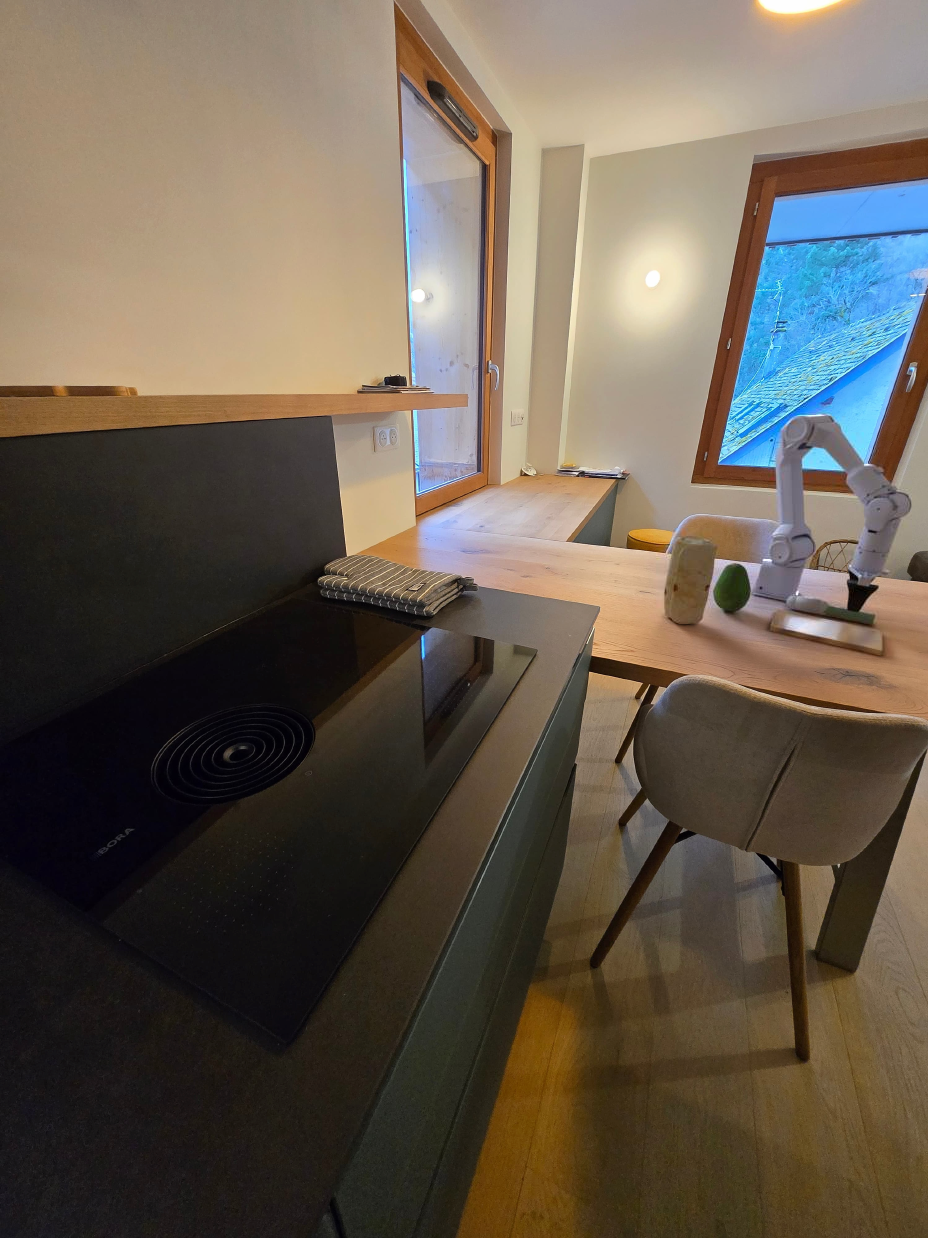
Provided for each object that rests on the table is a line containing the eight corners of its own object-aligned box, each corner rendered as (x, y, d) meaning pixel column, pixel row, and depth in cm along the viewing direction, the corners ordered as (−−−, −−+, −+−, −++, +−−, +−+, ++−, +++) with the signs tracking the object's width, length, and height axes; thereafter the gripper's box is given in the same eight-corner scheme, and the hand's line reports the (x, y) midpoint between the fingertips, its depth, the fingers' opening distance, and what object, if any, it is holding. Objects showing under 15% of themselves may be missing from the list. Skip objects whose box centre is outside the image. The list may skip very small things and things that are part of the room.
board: (769, 630, 111) (770, 625, 111) (776, 613, 119) (777, 609, 119) (880, 655, 101) (882, 650, 100) (880, 635, 108) (881, 630, 108)
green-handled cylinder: (871, 621, 115) (876, 607, 113) (871, 627, 112) (877, 613, 110) (785, 604, 124) (789, 591, 122) (783, 609, 121) (787, 596, 120)
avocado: (717, 601, 127) (727, 556, 121) (749, 609, 122) (761, 563, 116) (704, 610, 122) (714, 564, 116) (738, 620, 117) (750, 572, 111)
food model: (706, 620, 117) (724, 538, 108) (696, 630, 112) (714, 545, 103) (665, 609, 122) (679, 531, 114) (654, 618, 118) (668, 537, 109)
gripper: (897, 560, 101) (874, 620, 107) (895, 543, 111) (874, 598, 117) (855, 555, 105) (835, 612, 110) (856, 538, 115) (838, 592, 121)
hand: (853, 605), depth 114 cm, fingers open, 7 cm apart
